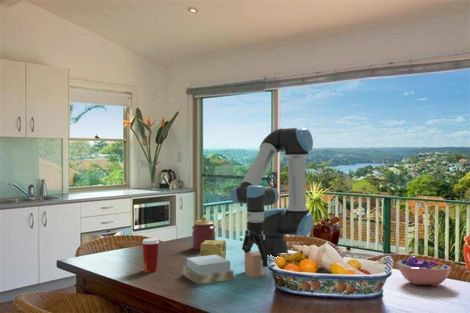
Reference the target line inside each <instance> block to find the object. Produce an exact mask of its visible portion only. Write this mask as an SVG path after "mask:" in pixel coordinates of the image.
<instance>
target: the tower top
mask: <svg viewBox="0 0 470 313" xmlns="http://www.w3.org/2000/svg"><path fill="white" fill-rule="evenodd" d="M186 267H187V268H189V269H190V270H192V271H193V272H195V273H197V274H198V275H204V274H211V273H219V272H226V271H230V270H231V260H228V259H226V258H225V259H224V258H222V257H220V256H218V255H208V256H193V257H186Z"/></svg>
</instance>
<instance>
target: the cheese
mask: <svg viewBox="0 0 470 313" xmlns="http://www.w3.org/2000/svg"><path fill="white" fill-rule="evenodd" d="M226 243H227V242H226V240H225V239H224V240H223V239H222V240H221V239H220V240H219V239H218V240H216V239H215V240H205V241H204V242H203V243H202V244H201V248H200V250H201V251H200V256H208V255H218V256H220V257H222V258H224V259H226V258H227V244H226ZM200 256H199V257H200Z"/></svg>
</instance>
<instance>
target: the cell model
mask: <svg viewBox="0 0 470 313" xmlns="http://www.w3.org/2000/svg"><path fill="white" fill-rule="evenodd" d="M396 264H397V267H398V270H399V272H400V274H401V275H402V276H403V277H404V278H403V279H405V280H406V281H408V282H410V283H411V284H413V285H416V286H421V285H423V286H425V285H426V286H433V287H435V286H439V285H440V284H442V283H443V282H445V281H446V279H447V278H448V276H449V274H450V272H451V270H452V266H450V265H447V263H446V264H445V263H443V262H440V261H436V260H431V259H420V258H417V255H411V256H409V257H408V258H405V259H399V260H397V262H396Z"/></svg>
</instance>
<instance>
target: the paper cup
mask: <svg viewBox="0 0 470 313" xmlns="http://www.w3.org/2000/svg"><path fill="white" fill-rule="evenodd" d="M159 243H160V241H159V239H158V238H155V237H149V238H144V239H143V240H142V242H141V244H142V254H143V257H142V258H143V266H144V267H143V269H144V272H145V273H155V272H158V263H159V245H160V244H159Z"/></svg>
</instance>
